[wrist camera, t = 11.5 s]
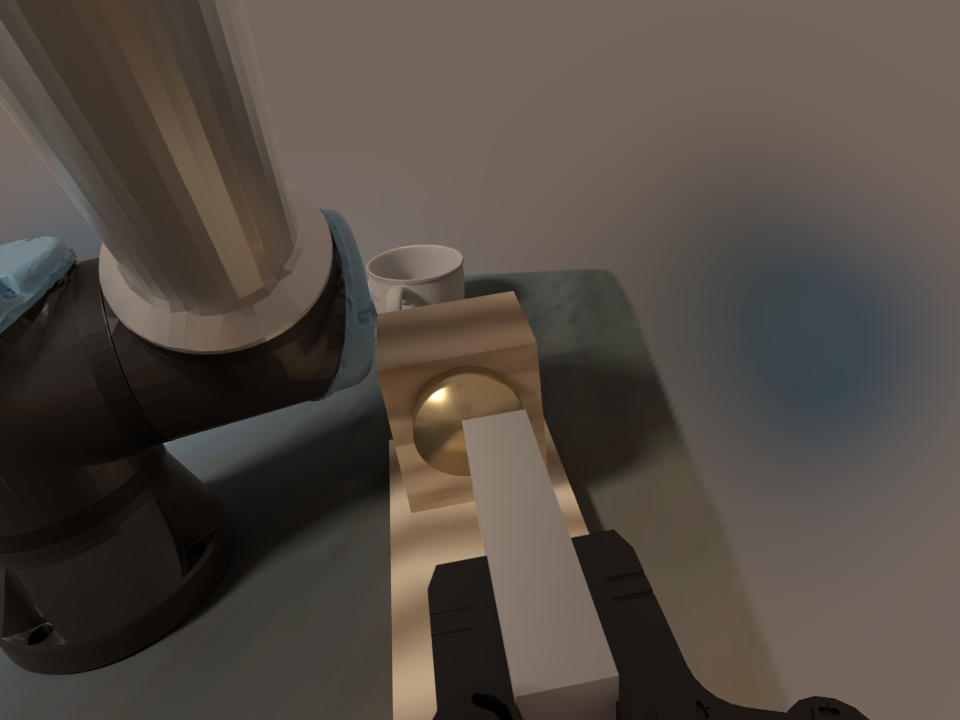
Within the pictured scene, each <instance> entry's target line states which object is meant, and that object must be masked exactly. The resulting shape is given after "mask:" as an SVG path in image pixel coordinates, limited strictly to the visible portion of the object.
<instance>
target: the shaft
mask: <svg viewBox="0 0 960 720" xmlns="http://www.w3.org/2000/svg"><path fill="white" fill-rule="evenodd" d="M518 410H523V408H522V405H521V402H520V399H519V396H518V393H517V391H516V389H515V388H514V386H513V385H512V384H511V382H510V381H509V380H508V379H507V378H505V377H504V376H503V375H501V374H499V373H497V372H496V371H493V370H491V369H488V368H483V367H477V366H464V367H457V368H453V369H450V370H447V371H445V372H442V373H440V374H438V375H437V376H435V377H434V378H432V379H431V380H430V381H429V382H427V383H426V384H425V385H424V387H423V388H422V389H421V390H420V392H419V393H418V395H417V397H416V399H415V401H414V404H413V409H412V426H413V438H414V443H415V447H416V449H417V451H418V453H419V455H420V456H421V457H422V459H423V460H424V461H425V462H426V463H427V464H429V465H430V466H431V467H433V468H435V469H436V470H438V471H441V472H443V473H446V474H450V475H455V476H471V474H470V468H469V462H468V456H467V450H466V444H465V437H464V431H463V425H462V420H468V419H473V418H479V417H485V416H490V415H496V414H501V413H507V412H512V411H518Z"/></svg>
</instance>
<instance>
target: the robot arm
mask: <svg viewBox="0 0 960 720" xmlns="http://www.w3.org/2000/svg"><path fill="white" fill-rule="evenodd" d="M0 104H1V106H2V107H3V109H4V110H5V111H6V112H7V114H8V115H9V117H10V118H11V119H12V121H13V122H14V123H15V125H16V126H17V127H18V129H19V130H20V131H21V133H22V134H23V135H24V136H25V138H26V139H27V141H28V142H29V143H30V145H31V146H32V148H33V149H34V150H35V152H36V153H37V154H38V156H39V157H40V158H41V160H42V161H43V162H44V164H45V165H46V166H47V168H48V169H49V170H50V172H51V173H52V174H53V176H54V177H55V178H56V180H57V181H58V183H59V184H60V185H61V187H62V188H63V189H64V191H65V192H66V193H67V195H68V196H69V197H70V199H71V200H72V201H73V203H74V204H75V205H76V207H77V208H78V210H79V211H80V212H81V214H82V215H83V216H84V218H85V219H86V220H87V222H88V223H89V224H90V226H91V227H92V228H93V230H94V231H95V232H96V234H97V235H98V236H99V238H100V239H101V240H102V242H103V243H102V246H101V251H100V256H99V258H96V259H90V260H86V261H77V260H75V259H76V254H75V252H74V251H73V249H72V248H69V247H68V246H67V245H66V244H65V243H64V242H63V241H62V240H61V239H59V238H56V237H51V236H43V237H41V238H35V239H34V238H28V239H23V240H19V241H15V242H11V243H8V244H4V245H1V246H0V647H1V648H2V649H3V651H4V652H5V653H6V654H7V655H8V657H9V658H10V659H11V660H12V661H13V662H14V663H15V664H17V665H18V666H20V667H22V668H23V669H26V670H28V671H31V672H35V673H41V674H51V675H56V674H70V673H76V672H82V671H86V670H90V669H94V668H97V667H101V666H104V665H107V664H109V663H112V662H114V661H117V660H119V659H122V658H124V657H126V656H128V655H130V654H132V653H134V652H136V651H138V650H140V649H142V648H144V647H145V646H147V645H149V644H150V643H152V642H154V641H155V640H157V639H158V638H160V637H161V636H163V635H164V634H166V633H167V632H169V631H170V630H171V629H173V628H174V627H175V626H176V625H178V624H179V623H180V622H181V621H183V620H184V619H185V618H186V617H187V616H188V615H189V614H190V613H191V612H192V611H194V610H195V609H196V608H197V607H198V606H199V604H200V603H201V602H202V601H203V600H204V599H205V598H206V597H207V595H208V594H209V593H210V592H211V590H212V589H213V588H214V586H215V585H216V584H217V582H218V581H219V579H220V577H221V576H222V574H223V572H224V570H225V568H226V566H227V564H228V561H229V559H230V556H231V552H232V548H233V530H232V526H231V523H230V521H229V519H228V517H227V514H226V512H225V510H224V508H223V506H222V504H221V502H220V500H219V499H218V497H217V496H216V495H215V494H214V493H213V492H212V491H211V490H210V489H209V488H208V487H207V486H206V485H205V484H204V483H202V482H201V481H200V480H199V479H198V478H197V477H196V476H195V475H193V474H192V473H191V472H190V471H189V470H188V469H187V468H186V467H185V466H183V465H182V464H181V463H180V462H179V461H178V460H177V459H176V458H174V457H173V456H172V455H171V454H170V453H169V452H168V451H167V450H166V448H165V446H164V444H163V443H165V442H169V441H173V440H175V439H178V438H182V437H185V436H189V435H192V434H196V433H199V432H203V431H206V430H210V429H213V428H216V427H220V426H223V425H227V424H230V423H234V422H237V421H241V420H244V419H248V418H251V417H254V416H258V415H261V414H265V413H268V412H272V411H275V410H279V409H282V408H286V407H289V406H292V405H296V404H299V403H303V402H306V401H319V400H324V399H325V398H326V397H329V396H330V395H332V394H333V393H334V392H337V391H340V390H343V389H346V388H349V387H352V386H354V385H357V384H358V383H360V382H361V381H362V380H363V379H364V378H365V377H366V376H367V375H368V373H369V371H370V369H371V366H372V363H373V358H374V350H375V333H374V323H373V319H372V316H371V313H370V306H371V302H370V293H369V288H368V283H367V279H366V274H365V270H364V266H363V263H362V259H361V256H360V253H359V250H358V247H357V244H356V241H355V239H354V236H353V233H352V231H351V229H350V227H349V225H348V224H347V222H346V220H345V219H344V218H343V216H342V215H340V214H339V213H338V212H336V211H334V210H330V209H320V208H318V206H317V205H316V204H315V202H314V201H313V200H312V198H310V197H309V196H308V195H307V194H306V193H305V192H304V191H303V190H302V189H300V188H299V187H297V186H296V185H295V184H293V183H291V182H290V181H288V179H287V175H286V171H285V168H284V164H283V159H282V155H281V151H280V147H279V144H278V139H277V135H276V131H275V128H274V123H273V120H272V115H271V112H270V108H269V103H268V99H267V95H266V91H265V87H264V84H263V80H262V76H261V72H260V68H259V64H258V60H257V56H256V52H255V48H254V44H253V40H252V36H251V32H250V28H249V24H248V20H247V16H246V12H245V8H244V4H243V0H0ZM462 425H463V431H464V437H465V444H466V450H467V456H468V462H469V468H470V474H471V480H472V486H473V492H474V498H475V504H476V510H477V515H478V520H479V526H480V531H481V536H482V542H483V547H484V552H485V556H481V557H475V558H470V559H465V560H460V561H455V562H449V563H444V564H439V565H436V567H435V570H434V572H433V575H432V578H431V581H430V583H429V586H428V589H427V591H428V603H429V615H430V628H431V638H432V653H433V665H434V678H435V690H436V703H437V711H436V713H435V715H434V717H433V719H432V720H869V719H868V718H867V717H866V716H864V715H863V714H862V713H860V712H859V711H858V710H857V709H856V708H854V707H852V706H850V705H848V704H845V703H843V702H841V701H839V700H836V699H834V698H826V697H818V696H814V697H810V698H806V699H802V700H799V701H798V702H797V703H795V704H794V705H793V706H792V707H791V708H790V709H789V710H788V711H787V713H784V712H777V711H769V710H762V709H754V708H747V707H742V706H738V705H734V704H730V703H728V702H726V701H724V700H722V699H720V698H718V697H716V696H714V695H713V694H712V693H710V692H709V691H708V690H706V689H705V688H704V687H703V686H702V685H701V684H700V683H699V682H698V681H697V680H696V679H695V678H694V676H693V675H692V673H691V671H690V670H689V668H688V666H687V664H686V662H685V660H684V658H683V656H682V653H681V651H680V649H679V647H678V645H677V642H676V640H675V638H674V636H673V634H672V632H671V629H670V627H669V625H668V623H667V621H666V618H665V616H664V614H663V612H662V610H661V607H660V605H659V603H658V601H657V599H656V597H655V595H654V594H653V590H652V588H651V586H650V583H649V581H648V579H647V577H646V575H645V574H644V570H643V568H642V566H641V564H640V562H639V559H638V557H637V555H636V553H635V551H634V548H633V547H632V546H631V545H630V544H629V543H628V542H627V541H626V540H624V539H623V538H622V537H621V536H620V535H619V534H618V533H617V532H616V531H615V530H614V529H613V530H608V531H603V532H598V533H592V534H587V535H582V536H577V537H572V538H571V537H570V535H569V532H568V529H567V526H566V523H565V520H564V517H563V515H562V512H561V509H560V506H559V503H558V500H557V497H556V495H555V492H554V489H553V486H552V483H551V480H550V478H549V475H548V472H547V469H546V466H545V463H544V460H543V458H542V455H541V452H540V449H539V446H538V443H537V440H536V438H535V435H534V432H533V429H532V426H531V423H530V420H529V418H528V415H527V412H526V409H524V410H518V411H512V412H507V413H501V414H496V415H490V416H485V417H479V418H473V419H468V420H462Z"/></svg>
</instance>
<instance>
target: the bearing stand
mask: <svg viewBox="0 0 960 720" xmlns="http://www.w3.org/2000/svg"><path fill="white" fill-rule="evenodd" d="M464 366H477V367H483V368H488V369H491V370H493V371H496V372H497V373H499V374H501V375H503V376H504V377H505V378H507V379H508V380H509V381H510V382H511V384H512V385H513V386H514V388H515V389H516V391H517V393H518V396H519V399H520V402H521V405H522V408H523V410H524V409H526V412H527V415H528V418H529V420H530V423H531V426H532V429H533V432H534V435H535V438H536V440H537V443H538V446H539V449H540V452H541V455H542V458H543V460H544V463H545V466H546V469H547V472H548V475H549V478H550V480H551V483H552V486H553V489H554V492H555V495H556V497H557V500H558V503H559V506H560V509H561V512H562V515H563V517H564V520H565V523H566V526H567V529H568V532H569V535H570V537H571V538H572V537H577V536H582V535H587V534H589V532H588V530H587V527H586V524H585V522H584V519H583V517H582V514H581V512H580V509H579V506H578V504H577V501H576V499H575V496H574V494H573V491H572V488H571V486H570V483H569V481H568V478H567V476H566V473H565V470H564V468H563V465H562V463H561V460H560V457H559V455H558V452H557V450H556V447H555V445H554V442H553V439H552V437H551V434H550V432H549V429H548V427H547V424H546V421H545V419H544V416H543V409H542V397H541V385H540V373H539V362H538V350H537V342H536V339H535V337H534V335H533V333H532V331H531V328H530V326H529V324H528V322H527V320H526V317H525V315H524V313H523V311H522V309H521V306H520V304H519V302H518V300H517V298H516V295H515V293H514V291H510V292H504V293H498V294H492V295H486V296H481V297H475V298H469V299H463V300H457V301H451V302H445V303H439V304H433V305H427V306H421V307H415V308H410V309H404V310H398V311H392V312H386V313H380V314H377V374H378V378H379V383H380V387H381V391H382V395H383V399H384V403H385V407H386V411H387V415H388V419H389V424H390V428H391V432H392V436H393V440H389V460H390V528H391V596H392V665H393V720H432V719H433V717H434V715H435V713H436V711H437V703H436V690H435V678H434V665H433V653H432V638H431V628H430V615H429V603H428V591H427V589H428V586H429V583H430V581H431V578H432V575H433V572H434V570H435V567H436V565H439V564H444V563H449V562H455V561H460V560H465V559H470V558H475V557H481V556H485V552H484V547H483V542H482V536H481V531H480V526H479V520H478V515H477V510H476V504H475V498H474V492H473V486H472V480H471V476H455V475H450V474H446V473H443V472H441V471H438V470H436V469H435V468H433V467H431V466H430V465H429V464H427V463H426V462H425V461H424V460H423V459H422V457H421V456H420V455H419V453H418V451H417V449H416V447H415V443H414V438H413V426H412V409H413V404H414V401H415V399H416V397H417V395H418V393H419V392H420V390H421V389H422V388H423V387H424V385H425V384H426V383H427V382H429V381H430V380H431V379H432V378H434V377H435V376H437V375H438V374H440V373H442V372H445V371H447V370H450V369H453V368H457V367H464Z"/></svg>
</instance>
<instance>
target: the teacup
mask: <svg viewBox="0 0 960 720" xmlns="http://www.w3.org/2000/svg"><path fill="white" fill-rule="evenodd" d="M463 263H464V258H463V255H462V254H461V253H460V252H459V251H457V250H455V249H453V248H449V247H445V246H439V245H429V244H428V245H412V246H406V247H400V248H395V249H392V250H389V251H386V252H383V253H381V254H379V255H377V256H375V257H373V258H372V259H371V260H370V261H369V262H368V263H367V266H366V270H367V272H368V275H369V280H370V286H371V292H372V297H373V301H374V305H375V309H376V311H377V314H380V313H386V312H392V311H398V310H404V309H410V308H415V307H421V306H427V305H433V304H439V303H445V302H451V301H457V300H463V299H464V296H465V290H464V272H463Z"/></svg>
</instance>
